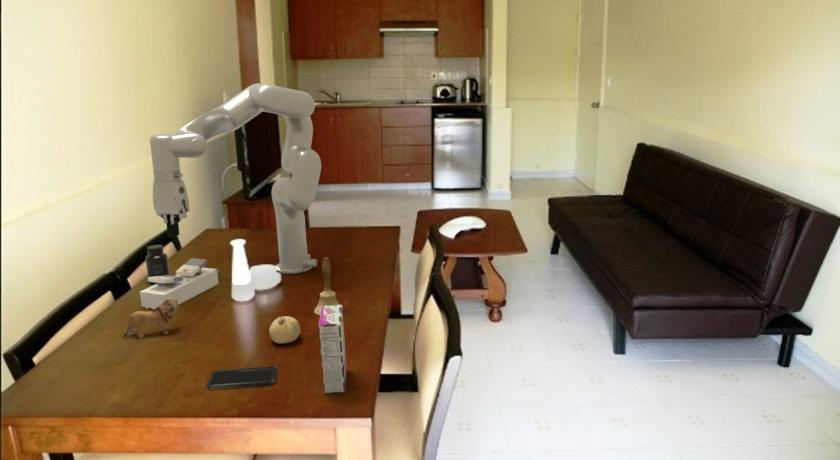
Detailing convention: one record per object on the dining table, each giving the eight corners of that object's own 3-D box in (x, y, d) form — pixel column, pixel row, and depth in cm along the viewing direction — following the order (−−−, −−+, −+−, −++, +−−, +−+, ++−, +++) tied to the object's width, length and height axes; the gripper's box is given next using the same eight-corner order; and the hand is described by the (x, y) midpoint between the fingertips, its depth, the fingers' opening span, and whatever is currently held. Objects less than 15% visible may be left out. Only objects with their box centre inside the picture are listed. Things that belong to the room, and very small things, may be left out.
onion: (267, 337, 172) (265, 312, 170) (297, 332, 174) (295, 307, 172) (273, 349, 164) (270, 323, 162) (304, 343, 167) (302, 318, 165)
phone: (274, 382, 146) (205, 386, 145) (274, 386, 147) (206, 391, 145) (278, 365, 154) (213, 370, 153) (278, 370, 154) (213, 374, 153)
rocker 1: (182, 282, 198) (183, 276, 198) (163, 285, 191) (164, 278, 191) (167, 280, 201) (167, 274, 200) (147, 283, 193) (148, 276, 193)
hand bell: (326, 303, 193) (322, 252, 189) (348, 308, 189) (345, 256, 185) (308, 313, 186) (304, 260, 182) (331, 318, 182) (327, 264, 178)
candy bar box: (325, 370, 153) (321, 305, 148) (347, 369, 153) (343, 303, 149) (322, 394, 142) (317, 325, 138) (345, 393, 142) (341, 323, 138)
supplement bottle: (174, 278, 219) (170, 243, 215) (164, 285, 212) (160, 249, 209) (155, 277, 219) (150, 243, 216) (144, 284, 213) (139, 249, 210)
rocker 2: (208, 264, 209) (206, 259, 208) (192, 278, 202) (190, 272, 201) (193, 262, 211) (191, 257, 210) (177, 276, 204) (175, 270, 204)
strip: (230, 277, 217) (228, 261, 216) (166, 311, 190) (163, 292, 189) (208, 275, 221) (206, 258, 219) (142, 307, 194) (139, 289, 192)
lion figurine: (180, 324, 181) (176, 294, 179) (182, 331, 176) (178, 300, 174) (122, 335, 175) (117, 303, 173) (123, 342, 170) (118, 310, 168)
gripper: (196, 175, 194) (201, 235, 199) (157, 172, 199) (163, 230, 204) (178, 179, 187) (184, 241, 192) (138, 176, 193) (145, 236, 197)
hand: (173, 235), depth 198 cm, fingers closed
